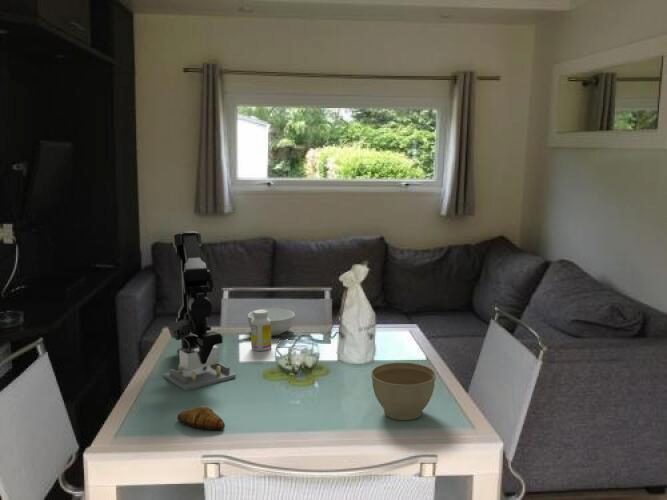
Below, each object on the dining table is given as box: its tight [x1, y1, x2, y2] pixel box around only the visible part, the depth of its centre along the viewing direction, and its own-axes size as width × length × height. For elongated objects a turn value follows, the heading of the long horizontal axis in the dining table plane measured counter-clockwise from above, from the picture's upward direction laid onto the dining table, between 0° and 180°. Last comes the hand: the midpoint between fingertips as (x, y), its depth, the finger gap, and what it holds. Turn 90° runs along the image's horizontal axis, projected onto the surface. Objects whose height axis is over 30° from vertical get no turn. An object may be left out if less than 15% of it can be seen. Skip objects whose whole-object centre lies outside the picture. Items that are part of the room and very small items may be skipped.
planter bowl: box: [370, 361, 437, 421], centre depth 165 cm, size 16×16×11 cm
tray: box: [163, 361, 237, 392], centre depth 192 cm, size 14×16×4 cm
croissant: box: [176, 406, 226, 431], centre depth 159 cm, size 14×7×5 cm, turn 65°
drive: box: [178, 345, 220, 371], centre depth 191 cm, size 5×10×5 cm, turn 131°
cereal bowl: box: [247, 308, 296, 337], centre depth 237 cm, size 17×17×7 cm
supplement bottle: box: [250, 309, 272, 352], centre depth 218 cm, size 7×7×13 cm
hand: (199, 361), depth 191 cm, fingers closed on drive, 5 cm apart
